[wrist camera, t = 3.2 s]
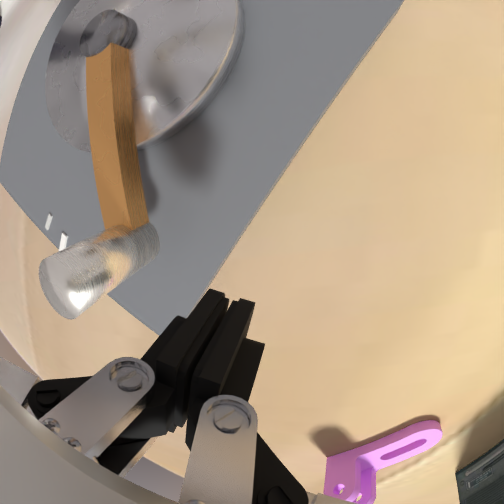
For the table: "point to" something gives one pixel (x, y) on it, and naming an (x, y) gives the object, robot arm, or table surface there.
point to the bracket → (376, 461)
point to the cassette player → (483, 478)
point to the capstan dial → (129, 119)
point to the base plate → (196, 147)
